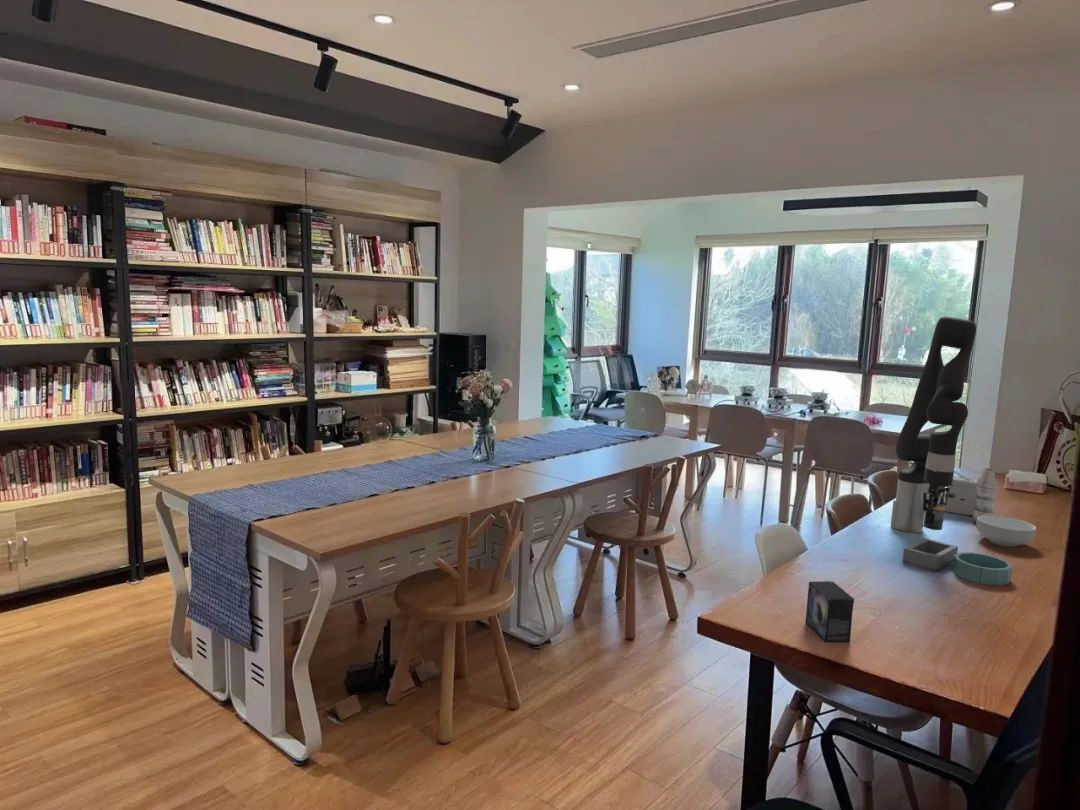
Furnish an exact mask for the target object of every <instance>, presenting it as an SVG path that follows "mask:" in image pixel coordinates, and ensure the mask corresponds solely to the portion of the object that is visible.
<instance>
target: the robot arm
mask: <svg viewBox="0 0 1080 810" xmlns="http://www.w3.org/2000/svg"><path fill="white" fill-rule="evenodd" d="M976 334H977V324H976V322H974V321H973V320H970V319H964V318H958V317H952V316H945V315H943V316H941V317H940V318H939V319H938V321H937V323H936V325H935V329H934V332H933V334H932V339H931V344H930V347H929V351H928V356H927V358H926V362H925V365H924V367H923V370H922V372H921V377H920V379H919V382H918V384H917V387H916V390H915V393H914V397H913V400H912V403H911V407H910V409H909V412H908V415H907V417H906V420H905V422H904V424H903V427H902V428H901V431H900V433H899V435H898V439H897V441H896V446H895V452H896V453H895V454H896V457H897V458H898V459H899V460H901V461H905V462H912V464H911V465H909V466H908V467H905V468H903V469H900V470H899V472H898V477H897V487H896V496H895V499H894V500H893V502H892V508H891V509H892V511H891V520H890V527H891V528H893V529H896V530H897V531H900V532H905V533H911V534H912V533H913V534H917V533H922V532H923V531H924V530H923V528H924V526H923V524H924V516H925V512H926V518H925V524H927V525H931V526H932V525H933V524H934V518H935V511H936V507H937V506H939V503H943V504H945V507H946V505H947V500H948V495H949V491H950V488H949V487H946V486H951V485H952V483H953V476H955V475H954V474H955V473H954V471H955V468H956V451H957V445H958V444H957V443H958V439H959V436H960V432H961V431H962V428H963V427H964V424H965V423H966V421H967V418H968V416H969V409H968V406H967V405H966V404H965V403H964V402H959V400H960V399H961V398H962V397H963V394H964V386H965V385H964V384H965V377H966V372H967V368H968V365H969V362H970V360H971V359H970V358H971V355H972V350H973V348H974V347H973V346H974V343H975V341H976V339H975V338H976ZM943 347H946V348H953V349H959V351H958V353H957V354H956V355H955V356H954V357H953V358H952V359H950V360H949V361H948V362H947V363H945V364H944V363H943V357H942V349H943ZM928 422H929V423H931V424H934V425H941V426H951V428H950V429H948V430H946V431H936V432H932V433H931V435H929V434H924V433H923V434H922V433H921V431H922V429H923V427H924V426H925V425H926V424H927V423H928ZM920 433H921V434H920ZM928 483H929V484H930V486H929V489H928V491H927V488H928ZM933 502H936V503H933ZM926 504H927V505H926ZM929 505H930V508H929Z"/></svg>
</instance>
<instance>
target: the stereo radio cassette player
mask: <svg viewBox="0 0 1080 810" xmlns="http://www.w3.org/2000/svg"><path fill="white" fill-rule="evenodd" d="M954 474H956V475H958V476H956V475H954V476H953V483H952V485H951V486H946V487H949V488H950V491H949V495H948V500H947V505H946V507H945V511H944V512H949V513H953V514H960V515H965V516H972V515H973V511H974V510H975V504H976V498H977V488H976V486H977V485H976V482H977V480H978V479H979V478H972V477H971V478H970V477H965V476H963V475H962V474H960V473H959V472H957V471H955V470H954ZM929 486H930V484H929V483H928V488H927V491H928V489H929ZM972 517H973V516H972Z"/></svg>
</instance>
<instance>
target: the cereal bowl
mask: <svg viewBox="0 0 1080 810" xmlns="http://www.w3.org/2000/svg"><path fill="white" fill-rule="evenodd" d="M975 523H976V522H975ZM976 529H977V531H978V532H979V534H980V535H982V537H985V538H986V539H988V540H989V542H990V543H992V544H995V545H998V546H1001V547H1002V546H1003V547H1013V548H1014V547H1017V546H1019V545H1025V544H1029V543H1030V542H1032V541H1033V540H1034V539H1035V537H1036V533H1037V526H1035V525H1033V524H1032V523H1030V522H1028V521H1024V520H1020V519H1018V518H1017V519H1016V518H1012V517H1006V516H998V515H994V516H986V515H985V516H979V517H977V523H976Z"/></svg>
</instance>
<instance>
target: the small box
mask: <svg viewBox="0 0 1080 810" xmlns="http://www.w3.org/2000/svg"><path fill="white" fill-rule="evenodd" d="M807 590H808V591H807V601H806V614H805V623H806V624H807V625H808V626H809V627H810V628H811V629H812V630H813V632H814V633H816V634H817V636H818V637H820V639H821V640H822V641H823V640H824V641H825V643H850V642H851V634H852V623H853V622H852V621H853V620H852V619H853V611H854V602H855V599H854V598H853V597H852V596H851V595H850V594H849V593H848V592H846V591H845V590H844V589H843V588H841V587H840V586H839V585H838V584H837V583H836V582H834V581H829V580H827V581H821V580H820V581H808V588H807ZM824 641H823V642H824Z"/></svg>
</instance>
